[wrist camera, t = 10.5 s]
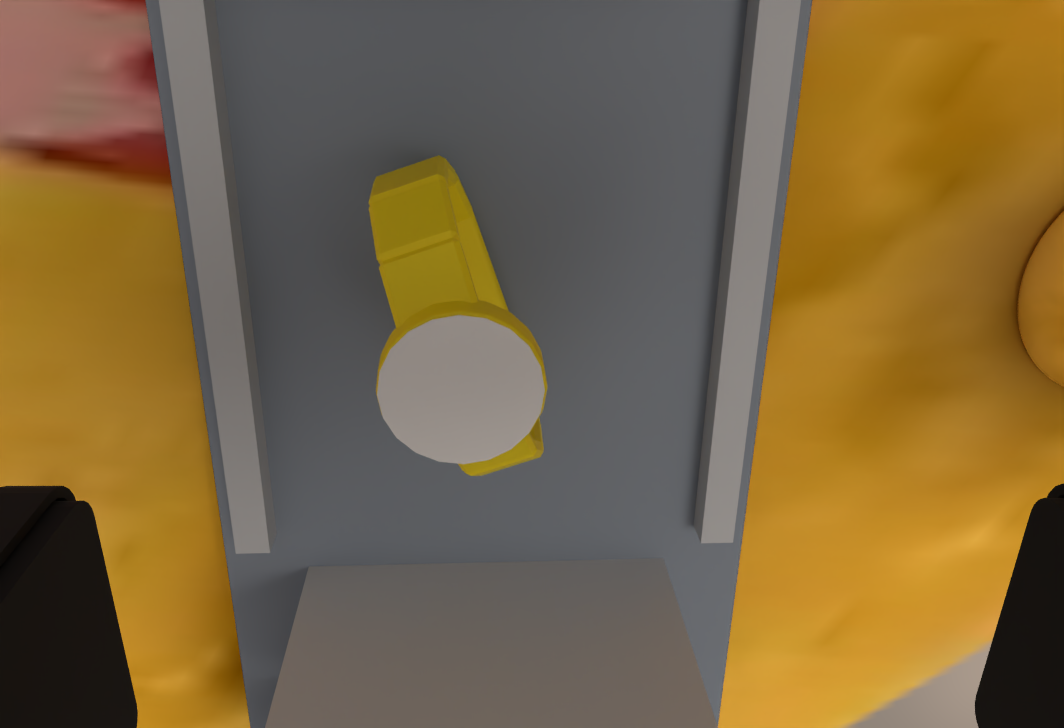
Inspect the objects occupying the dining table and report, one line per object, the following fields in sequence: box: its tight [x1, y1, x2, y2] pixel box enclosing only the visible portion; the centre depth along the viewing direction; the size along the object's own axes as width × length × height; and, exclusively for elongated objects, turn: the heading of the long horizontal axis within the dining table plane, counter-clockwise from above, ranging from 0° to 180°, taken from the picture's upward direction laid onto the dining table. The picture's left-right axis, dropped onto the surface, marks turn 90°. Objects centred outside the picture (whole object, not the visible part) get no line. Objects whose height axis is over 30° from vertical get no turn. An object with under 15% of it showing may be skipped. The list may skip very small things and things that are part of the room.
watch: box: [369, 155, 547, 476], centre depth 17 cm, size 6×3×6 cm, turn 18°
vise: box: [146, 0, 812, 728], centre depth 16 cm, size 13×34×8 cm, turn 179°
